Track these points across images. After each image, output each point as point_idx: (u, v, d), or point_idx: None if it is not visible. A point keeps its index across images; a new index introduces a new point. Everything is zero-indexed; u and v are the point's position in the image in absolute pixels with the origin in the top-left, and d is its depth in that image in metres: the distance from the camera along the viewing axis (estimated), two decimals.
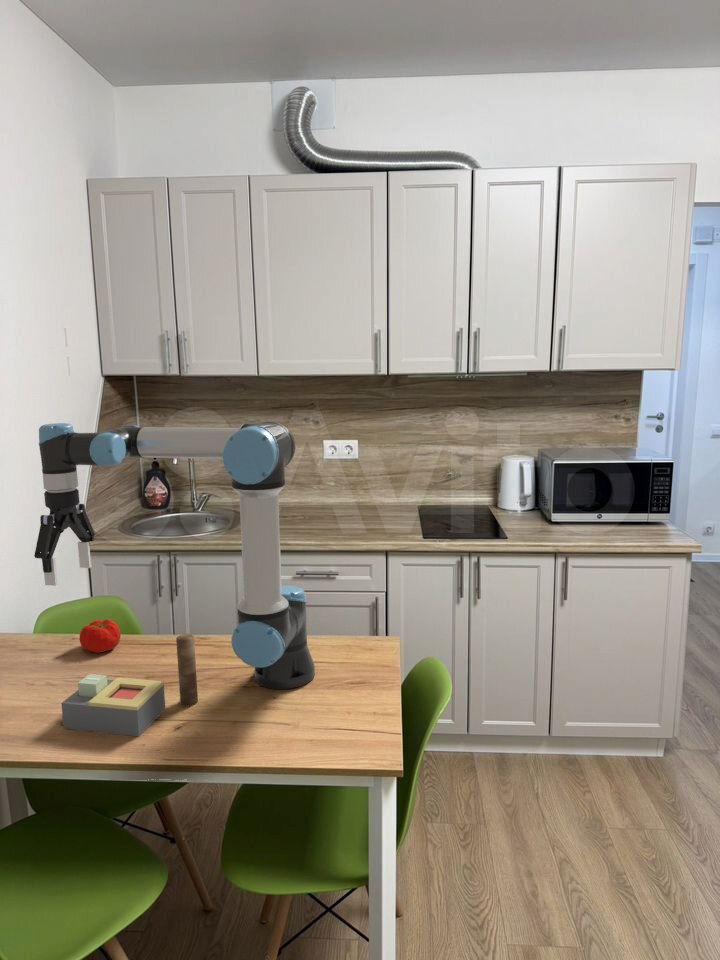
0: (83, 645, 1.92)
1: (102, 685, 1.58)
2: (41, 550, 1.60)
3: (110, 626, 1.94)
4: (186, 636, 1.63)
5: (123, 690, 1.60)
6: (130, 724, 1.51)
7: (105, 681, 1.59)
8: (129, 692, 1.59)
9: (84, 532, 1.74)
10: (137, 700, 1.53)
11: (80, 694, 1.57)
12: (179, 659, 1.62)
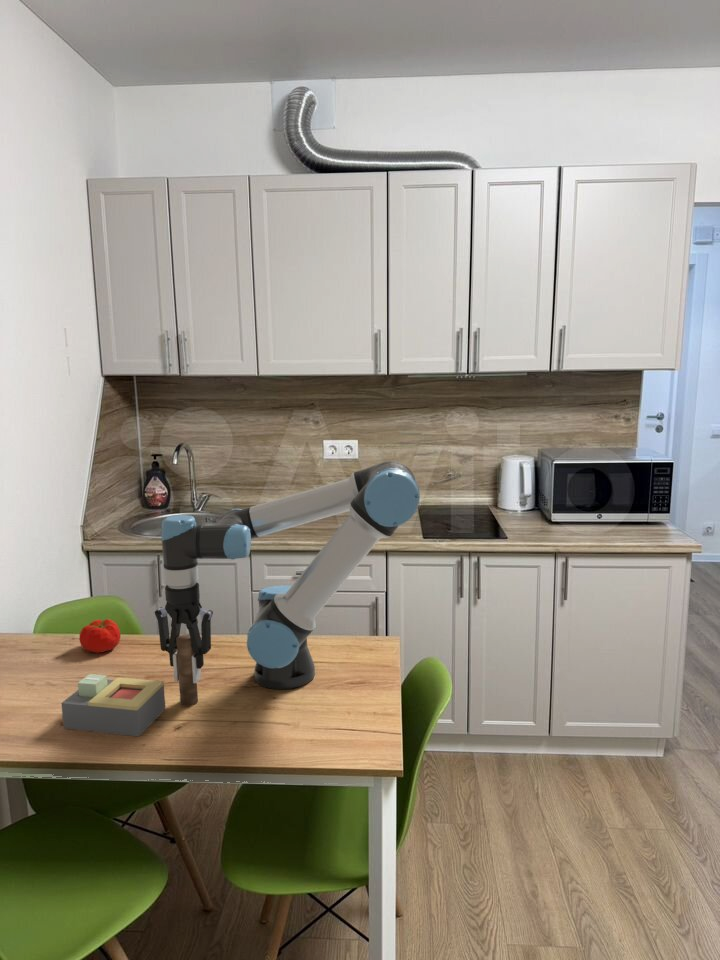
0: (83, 645, 1.92)
1: (102, 685, 1.58)
2: None
3: (110, 626, 1.94)
4: (186, 636, 1.63)
5: (123, 690, 1.60)
6: (130, 724, 1.51)
7: (105, 681, 1.59)
8: (129, 692, 1.59)
9: (193, 642, 1.61)
10: (137, 700, 1.53)
11: (80, 694, 1.57)
12: (179, 659, 1.62)
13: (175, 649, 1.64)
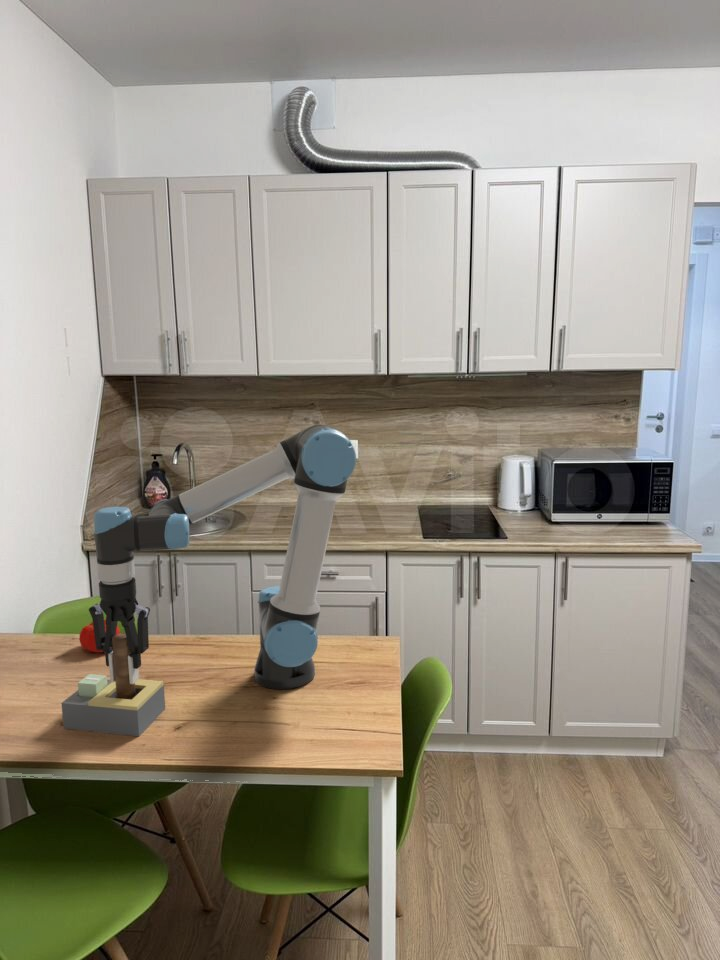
0: (83, 645, 1.92)
1: (102, 685, 1.58)
2: None
3: None
4: (123, 636, 1.55)
5: None
6: (130, 724, 1.51)
7: (105, 681, 1.59)
8: None
9: (129, 641, 1.53)
10: (137, 700, 1.53)
11: (80, 694, 1.57)
12: (115, 659, 1.54)
13: (111, 648, 1.56)
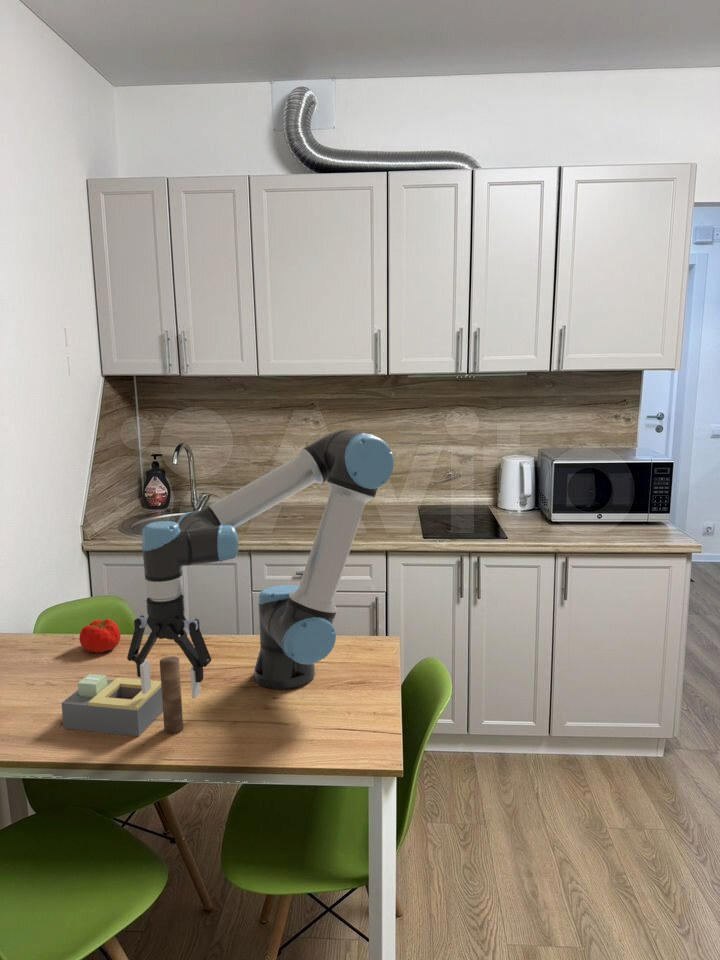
0: (83, 645, 1.92)
1: (102, 685, 1.58)
2: None
3: (110, 626, 1.94)
4: (170, 659, 1.51)
5: None
6: (130, 724, 1.51)
7: (105, 681, 1.59)
8: None
9: (188, 655, 1.49)
10: (137, 700, 1.53)
11: (80, 694, 1.57)
12: (163, 684, 1.50)
13: (143, 660, 1.53)
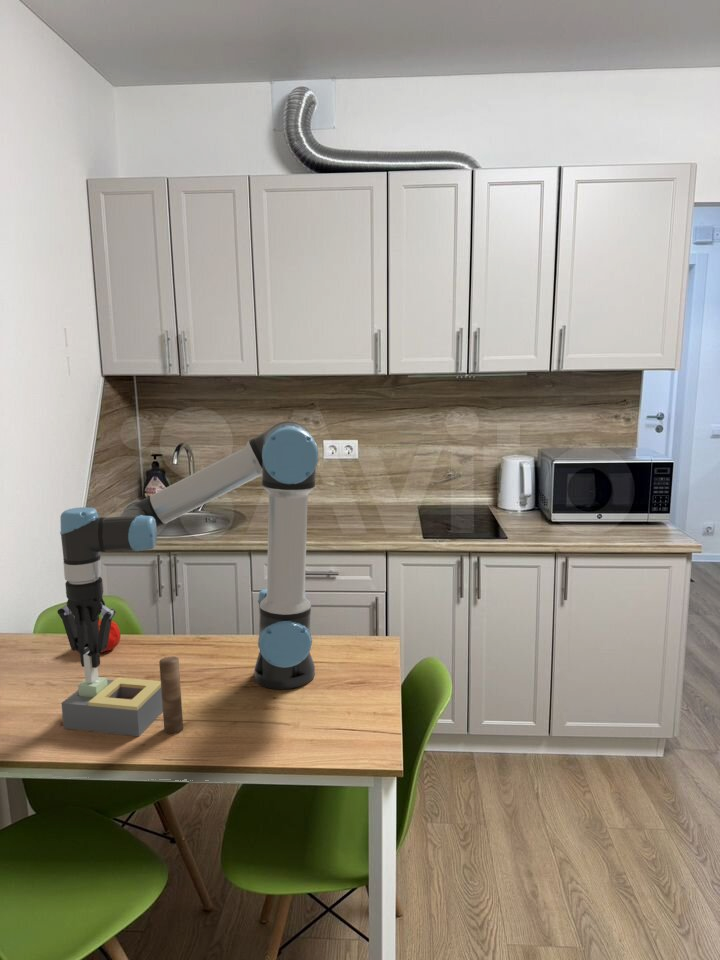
0: None
1: (102, 687, 1.58)
2: None
3: None
4: (170, 659, 1.51)
5: None
6: (130, 724, 1.51)
7: (105, 683, 1.60)
8: None
9: (90, 640, 1.55)
10: (137, 700, 1.53)
11: None
12: (162, 684, 1.50)
13: (86, 648, 1.57)
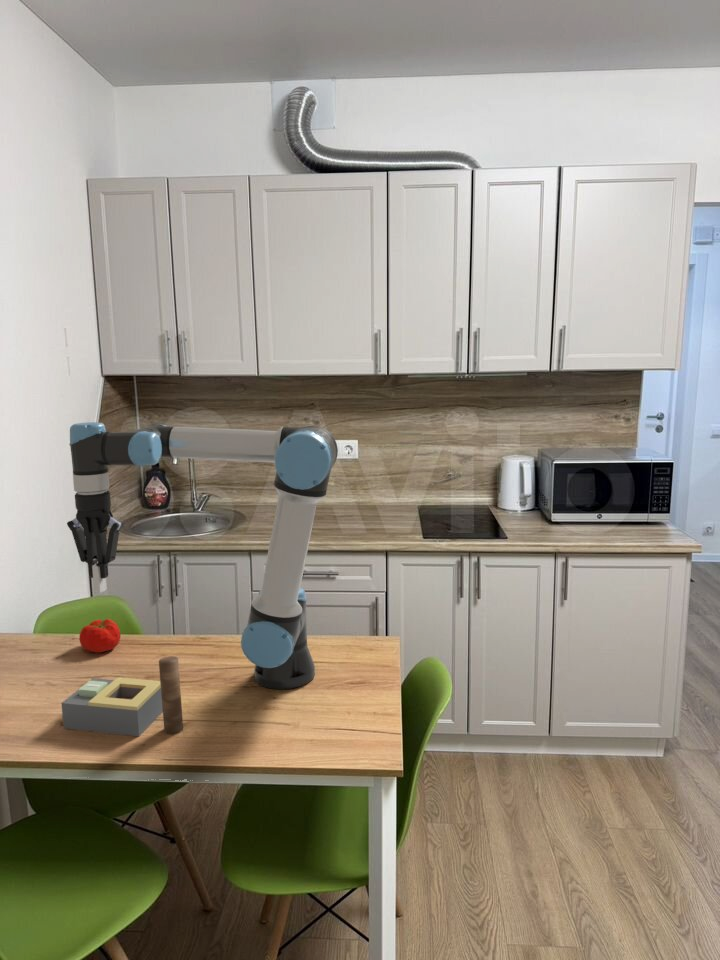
0: (83, 645, 1.92)
1: None
2: None
3: (110, 626, 1.94)
4: (169, 659, 1.51)
5: None
6: (130, 724, 1.51)
7: None
8: None
9: (98, 551, 1.61)
10: (137, 700, 1.53)
11: None
12: (162, 684, 1.50)
13: (95, 560, 1.63)
